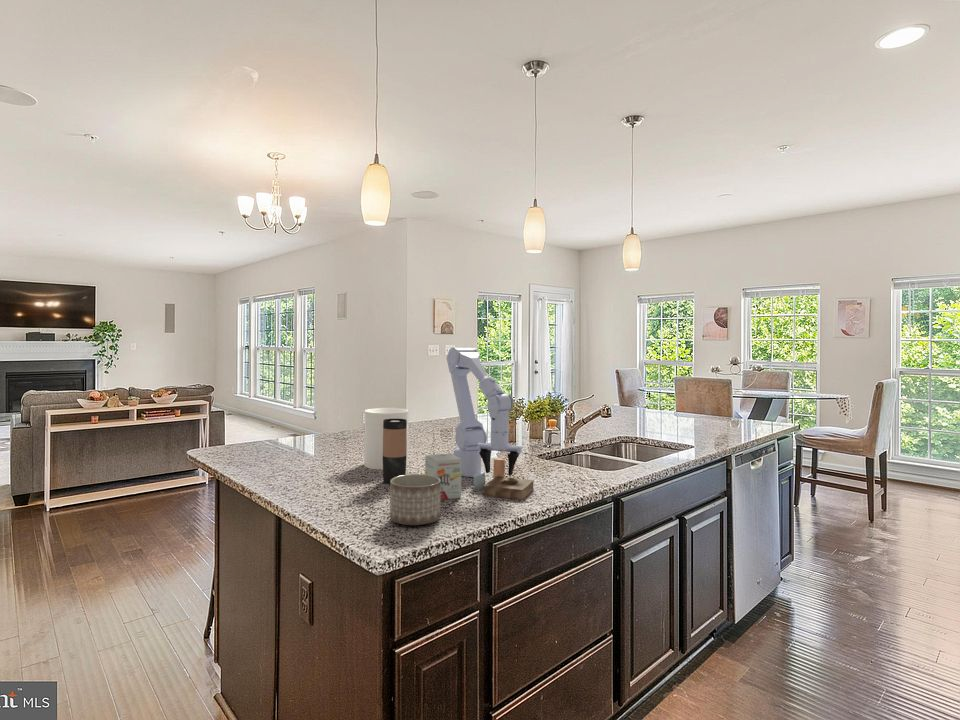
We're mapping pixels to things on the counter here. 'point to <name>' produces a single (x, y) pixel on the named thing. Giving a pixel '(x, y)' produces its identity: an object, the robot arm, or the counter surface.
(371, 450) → the canister
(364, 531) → the counter surface
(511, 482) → the socket block
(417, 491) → the planter
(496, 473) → the long peg
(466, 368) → the robot arm
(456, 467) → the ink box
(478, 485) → the short peg
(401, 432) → the travel mug
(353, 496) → the counter surface
